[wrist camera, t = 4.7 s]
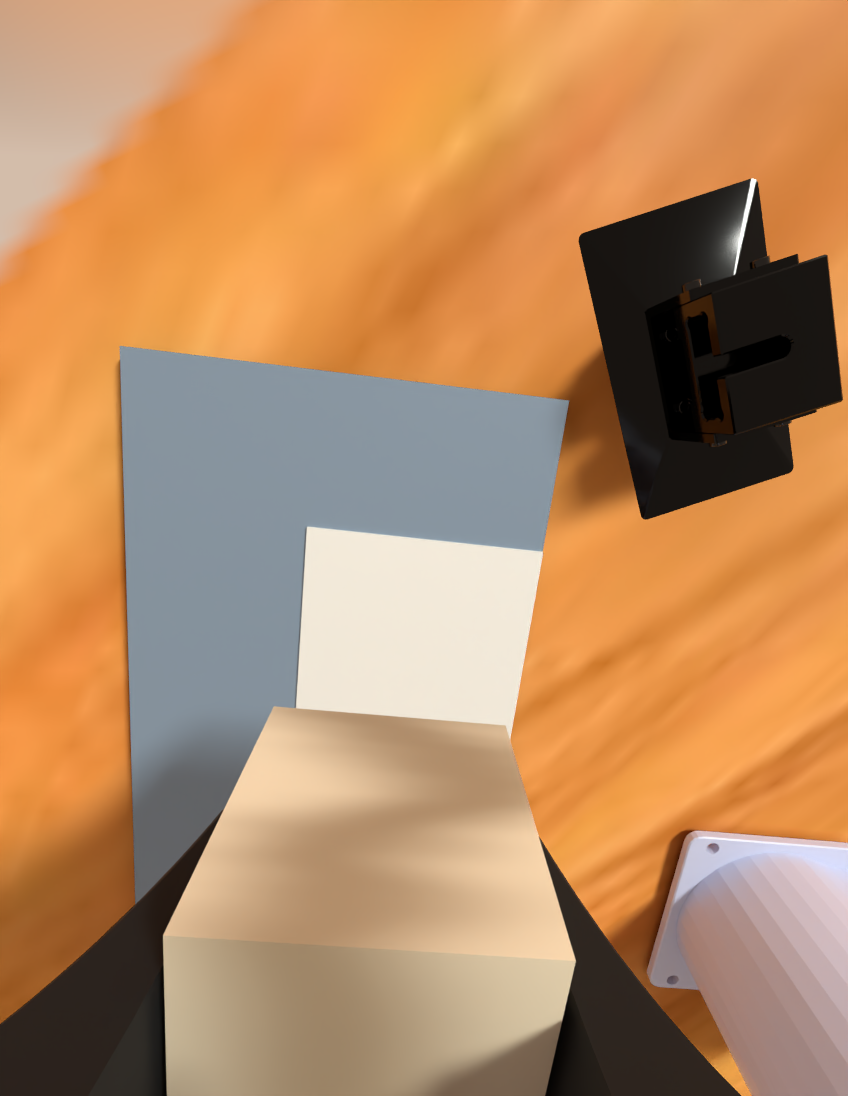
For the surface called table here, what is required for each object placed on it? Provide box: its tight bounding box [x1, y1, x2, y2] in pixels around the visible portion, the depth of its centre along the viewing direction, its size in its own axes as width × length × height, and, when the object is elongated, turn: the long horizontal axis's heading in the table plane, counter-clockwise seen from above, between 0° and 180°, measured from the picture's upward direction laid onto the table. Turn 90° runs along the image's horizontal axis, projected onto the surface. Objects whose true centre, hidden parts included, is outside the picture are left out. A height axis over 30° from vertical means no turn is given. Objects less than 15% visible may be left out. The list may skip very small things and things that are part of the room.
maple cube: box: [163, 706, 576, 1096], centre depth 9 cm, size 5×5×5 cm
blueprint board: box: [120, 346, 569, 904], centre depth 20 cm, size 14×30×1 cm, turn 174°
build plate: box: [579, 179, 843, 519], centre depth 15 cm, size 12×7×5 cm, turn 18°
